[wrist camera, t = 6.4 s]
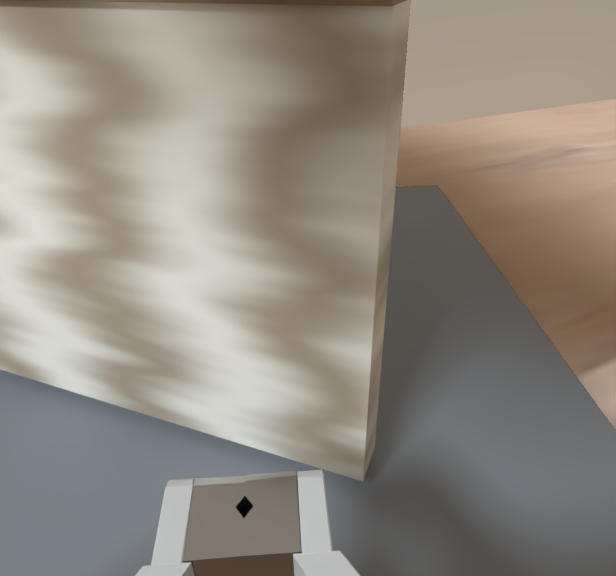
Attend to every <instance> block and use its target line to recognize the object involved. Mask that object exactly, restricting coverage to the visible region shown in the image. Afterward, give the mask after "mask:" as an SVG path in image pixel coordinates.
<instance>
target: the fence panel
mask: <svg viewBox="0 0 616 576" xmlns="http://www.w3.org/2000/svg"><path fill="white" fill-rule="evenodd" d="M410 3H411V0H0V370H4V371H7V372H10V373H13V374H16V375H20V376H23V377H26V378H29V379H33V380H36V381H39V382H42V383H46V384H49V385H52V386H55V387H58V388H62V389H65V390H68V391H71V392H75V393H78V394H81V395H84V396H88V397H91V398H94V399H97V400H101V401H104V402H107V403H110V404H113V405H117V406H120V407H123V408H126V409H130V410H133V411H136V412H139V413H143V414H146V415H149V416H152V417H155V418H159V419H162V420H165V421H168V422H172V423H175V424H178V425H181V426H185V427H188V428H191V429H194V430H197V431H201V432H204V433H207V434H210V435H214V436H217V437H220V438H223V439H227V440H230V441H233V442H236V443H239V444H243V445H246V446H249V447H252V448H256V449H259V450H262V451H265V452H269V453H272V454H275V455H278V456H281V457H285V458H288V459H291V460H294V461H298V462H301V463H304V464H307V465H311V466H314V467H317V468H320V469H323V470H327V471H330V472H333V473H336V474H340V475H343V476H346V477H349V478H353V479H356V480H359V481H362V482H363V480H364V478H365V475H366V472H367V469H368V466H369V463H370V460H371V457H372V454H373V451H374V448H375V437H376V425H377V412H378V400H379V388H380V375H381V363H382V350H383V338H384V326H385V313H386V301H387V289H388V276H389V264H390V251H391V239H392V227H393V214H394V202H395V189H396V177H397V165H398V152H399V140H400V127H401V115H402V102H403V90H404V78H405V65H406V53H407V41H408V27H409V16H410Z"/></svg>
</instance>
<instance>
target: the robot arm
mask: <svg viewBox="0 0 616 576" xmlns="http://www.w3.org/2000/svg"><path fill="white" fill-rule="evenodd" d="M135 576H360V574H359V573H358V572H357V570H356V569H355V568H354V567H353V565H352V564H351V563H350V562H349V560H348V559H347V558H346V557H345V555H344V554H343V553H342V551H341V550H337V551H333V548H332V539H331V531H330V522H329V513H328V505H327V496H326V487H325V479H324V473H323V471H322V469H320V470H309V471H297V475H296V471H287V472H275V473H264V474H252V475H246V476H235V477H215V478H192V479H177V480H169V481H168V483H167V485H166V488H165V492H164V497H163V502H162V508H161V513H160V519H159V524H158V529H157V535H156V540H155V546H154V551H153V557H152V562H151V565H145V566H142V567H141V569H140V570H139V571H138V572H137V574H136V575H135Z"/></svg>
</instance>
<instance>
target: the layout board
mask: <svg viewBox="0 0 616 576" xmlns="http://www.w3.org/2000/svg"><path fill="white" fill-rule="evenodd" d="M309 470H320V468H317V467H314V466H311V465H307V464H304V463H301V462H298V461H294V460H291V459H288V458H285V457H281V456H278V455H275V454H272V453H269V452H265V451H262V450H259V449H256V448H252V447H249V446H246V445H243V444H239V443H236V442H233V441H230V440H227V439H223V438H220V437H217V436H214V435H210V434H207V433H204V432H201V431H197V430H194V429H191V428H188V427H185V426H181V425H178V424H175V423H172V422H168V421H165V420H162V419H159V418H155V417H152V416H149V415H146V414H143V413H139V412H136V411H133V410H130V409H126V408H123V407H120V406H117V405H113V404H110V403H107V402H104V401H101V400H97V399H94V398H91V397H88V396H84V395H81V394H78V393H75V392H71V391H68V390H65V389H62V388H58V387H55V386H52V385H49V384H46V383H42V382H39V381H36V380H33V379H29V378H26V377H23V376H20V375H16V374H13V373H10V372H7V371H4V370H0V576H135V575H136V574H137V572H138V571H139V570H140V569H141V567H142V566H145V565H151V562H152V557H153V551H154V546H155V540H156V535H157V529H158V524H159V519H160V513H161V508H162V502H163V497H164V492H165V488H166V485H167V483H168V481H169V480H177V479H192V478H215V477H235V476H246V475H252V474H264V473H275V472H287V471H296V475H297V471H309ZM322 471H323V473H324V479H325V487H326V496H327V505H328V513H329V522H330V531H331V539H332V548H333V551H337V550H341V551H342V553H343V554H344V555H345V557H346V558H347V559H348V560H349V562H350V563H351V564H352V565H353V567H354V568H355V569H356V570H357V572H358V573H359V574H360V576H616V430H615V429H614V428H613V426H612V425H611V424H610V422H609V421H608V419H607V418H606V417H605V415H604V414H603V413H602V411H601V410H600V408H599V407H598V406H597V404H596V403H595V402H594V400H593V399H592V397H591V396H590V395H589V393H588V392H587V391H586V389H585V388H584V386H583V385H582V384H581V382H580V381H579V380H578V378H577V377H576V375H575V374H574V373H573V371H572V370H571V369H570V367H569V366H568V364H567V363H566V362H565V360H564V359H563V358H562V356H561V355H560V353H559V352H558V351H557V349H556V348H555V347H554V345H553V344H552V342H551V341H550V340H549V338H548V337H547V335H546V334H545V333H544V331H543V330H542V329H541V327H540V326H539V324H538V323H537V322H536V320H535V319H534V318H533V316H532V315H531V313H530V312H529V311H528V309H527V308H526V307H525V305H524V304H523V302H522V301H521V300H520V298H519V297H518V296H517V294H516V293H515V291H514V290H513V289H512V287H511V286H510V285H509V283H508V282H507V280H506V279H505V278H504V276H503V275H502V274H501V272H500V271H499V269H498V268H497V267H496V265H495V264H494V263H493V261H492V260H491V258H490V257H489V256H488V254H487V253H486V252H485V250H484V249H483V247H482V246H481V245H480V243H479V242H478V241H477V239H476V238H475V236H474V235H473V234H472V232H471V231H470V230H469V228H468V227H467V225H466V224H465V223H464V221H463V220H462V219H461V217H460V216H459V214H458V213H457V212H456V210H455V209H454V208H453V206H452V205H451V203H450V202H449V201H448V199H447V198H446V197H445V195H444V194H443V192H442V191H441V190H440V188H439V187H438V186H415V187H396V189H395V202H394V214H393V227H392V239H391V251H390V264H389V276H388V289H387V301H386V313H385V326H384V338H383V350H382V363H381V375H380V388H379V400H378V412H377V425H376V437H375V448H374V451H373V454H372V457H371V460H370V463H369V466H368V469H367V472H366V475H365V478H364V480H363V482H362V481H359V480H356V479H353V478H349V477H346V476H343V475H340V474H336V473H333V472H330V471H327V470H323V469H322Z"/></svg>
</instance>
